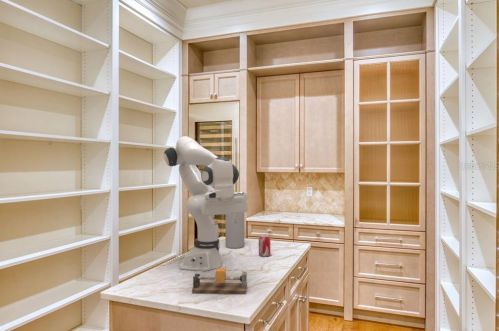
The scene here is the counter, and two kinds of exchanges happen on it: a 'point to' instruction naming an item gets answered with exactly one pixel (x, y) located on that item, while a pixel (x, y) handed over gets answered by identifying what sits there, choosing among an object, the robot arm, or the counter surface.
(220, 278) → the notched orange cube
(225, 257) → the counter surface
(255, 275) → the counter surface
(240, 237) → the cylinder vase
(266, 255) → the soda can
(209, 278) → the cord board
